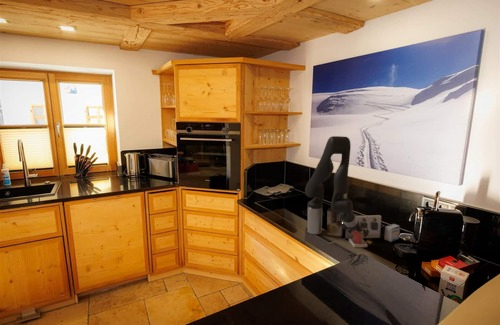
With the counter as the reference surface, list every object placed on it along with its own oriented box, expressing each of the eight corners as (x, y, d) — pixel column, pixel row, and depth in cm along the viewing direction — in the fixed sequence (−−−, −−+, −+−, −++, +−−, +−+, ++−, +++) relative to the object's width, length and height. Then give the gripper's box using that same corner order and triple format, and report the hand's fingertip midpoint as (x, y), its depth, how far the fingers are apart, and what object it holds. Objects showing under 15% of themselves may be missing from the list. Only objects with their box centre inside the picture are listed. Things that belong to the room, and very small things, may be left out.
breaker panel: (345, 237, 166) (346, 216, 163) (378, 236, 166) (379, 215, 164) (347, 240, 162) (348, 218, 159) (381, 239, 162) (383, 217, 160)
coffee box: (342, 232, 172) (343, 209, 169) (341, 236, 166) (342, 212, 164) (327, 230, 176) (328, 207, 173) (326, 234, 170) (327, 210, 168)
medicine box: (390, 242, 158) (391, 228, 156) (384, 239, 162) (385, 226, 160) (399, 239, 161) (400, 225, 160) (392, 236, 165) (393, 223, 164)
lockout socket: (348, 241, 160) (349, 238, 160) (361, 240, 160) (361, 238, 160) (354, 247, 153) (354, 244, 152) (367, 247, 153) (367, 244, 152)
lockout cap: (351, 241, 159) (351, 225, 157) (359, 241, 159) (360, 225, 158) (354, 245, 154) (355, 229, 152) (363, 245, 154) (364, 228, 152)
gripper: (365, 217, 141) (372, 231, 151) (340, 212, 151) (348, 224, 161) (361, 230, 138) (368, 243, 148) (335, 223, 148) (344, 235, 158)
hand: (358, 233), depth 155 cm, fingers open, 8 cm apart
